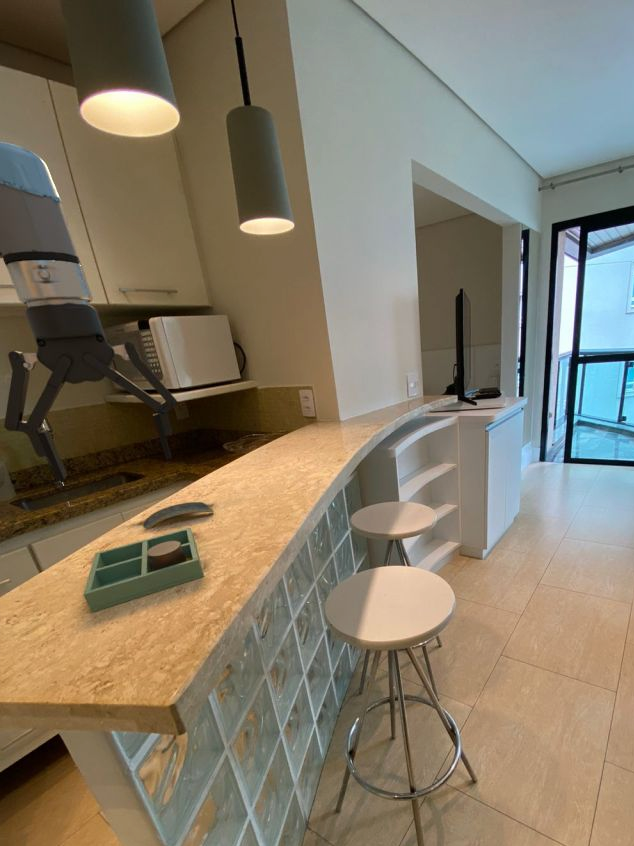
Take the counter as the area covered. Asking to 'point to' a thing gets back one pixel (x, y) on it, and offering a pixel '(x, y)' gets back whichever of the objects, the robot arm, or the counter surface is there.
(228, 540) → the counter surface
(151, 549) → the brown short cylinder
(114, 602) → the grid
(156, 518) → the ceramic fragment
